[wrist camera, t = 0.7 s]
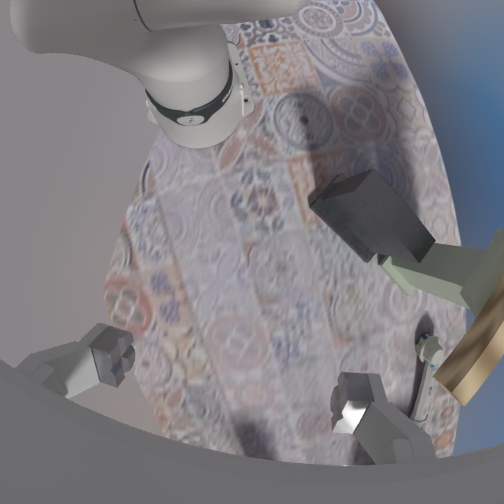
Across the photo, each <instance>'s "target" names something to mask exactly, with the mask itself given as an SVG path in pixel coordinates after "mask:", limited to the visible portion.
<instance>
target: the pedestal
mask: <svg viewBox="0 0 504 504" xmlns="http://www.w3.org/2000/svg"><path fill="white" fill-rule="evenodd" d="M378 265H379V266H380V267H381V268H382V269H383V270H384V271H385V272H386V273H387V275H388V276H389V277H390V278H391V279H392V280H393V281H394V282H395V283H396V284H397V286H398V287H399V288H400V289H401V290H402V291H403V292H404V293H405V294H406V295H408V296H410V295H411V294H412V292H413V291H414V290H415V288H418V289H421V290H423V291H426V292H428V293H431V294H433V295H436V296H438V297H441V298H443V299H446V300H449V301H451V302H454V303H456V304H459V305H461V306H464V307H466V308H469V309H470V310H471V311H472V313H473V314H474V316H475V318H477V316H478V315H479V313H480V312H481V310H482V309H483V307H484V306H485V304H486V302H487V301H488V299H489V298H490V296H491V294H492V292H493V291H494V289H495V287H496V286H497V284H498V282H499V280H500V279H501V277H502V275H503V273H504V229H497V231H496V233H495V235H494V236H493V238H492V240H491V242H490V244H489V246H488V248H487V249H486V250H482V249H475V248H468V247H461V246H453V245H446V244H438V243H434V244H433V245H432V247H431V248H430V250H429V251H428V253H427V254H426V255H425V257H424V258H423V260H422V261H421V262H420V263H416V262H412V261H407V260H403V259H399V258H395V257H391V256H387V255H386V256H385V257H384V258H383V259H382V261H381V262H380V263H379V264H378Z"/></svg>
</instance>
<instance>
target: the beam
mask: <svg viewBox="0 0 504 504" xmlns="http://www.w3.org/2000/svg"><path fill="white" fill-rule="evenodd" d="M503 354H504V273H503V275H502V277H501V279H500V280H499V282H498V284H497V286H496V287H495V289H494V291H493V292H492V294H491V296H490V298H489V299H488V301H487V302H486V304H485V306H484V307H483V309H482V310H481V312H480V313H479V315H478V316H477V318H476V320H475V321H474V323H473V324H472V325H471V327H470V328H469V330H468V331H467V333H466V334H465V335H464V337H463V338H462V339H461V341H460V342H459V344H458V345H457V346H456V348H455V349H454V350H453V351H452V353H451V354H450V355H449V357H448V358H447V359H446V360H445V362H444V363H443V364H442V365H441V367H440V368H439V369H438V370H437V371H436V373H435V374H434V375H433V376H432V377H433V378H434V379H435V380H436V381H437V382H438V383H439V384H440V385H441V386H442V387H443V388H444V389H445V390H446V391H447V392H448V393H449V394H450V395H452V396H453V397H454V398H455V399H456V400H457V401H459V402H460V403H461V404H462V405H463V406H465V405H466V404H467V403H468V401H469V400H470V399H471V397H473V395H474V394H475V393H476V392H477V390H478V389H479V388H480V386H481V385H482V384H483V383H484V381H485V380H486V378H487V377H488V376H489V374H490V373H491V372H492V370H493V369H494V367H495V366H496V365H497V363H498V362H499V360H500V359H501V357H502V356H503Z"/></svg>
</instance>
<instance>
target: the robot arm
mask: <svg viewBox="0 0 504 504" xmlns="http://www.w3.org/2000/svg"><path fill="white" fill-rule="evenodd" d="M309 1H310V0H11V4H10V24H11V28H12V31H13V33H14V35H15V37H16V39H17V40H18V42H19V43H20V44H21V45H22V46H23V47H25V48H26V49H27V50H29V51H31V52H33V53H38V54H42V53H66V54H73V55H79V56H84V57H88V58H92V59H95V60H98V61H101V62H104V63H107V64H109V65H112V66H114V67H117V68H119V69H122V70H124V71H126V72H128V73H130V74H132V75H133V76H135V77H136V78H137V79H138V80H139V81H140V83H141V84H142V85H143V86H144V87H145V90H146V93H147V96H148V99H147V100H146V104H147V107H148V113H147V118H148V120H149V121H150V122H151V123H153V124H155V125H157V126H159V127H160V128H161V129H162V130H163V131H164V132H165V134H166V135H167V136H168V137H169V138H170V139H171V140H172V141H173V142H175V143H177V144H179V145H181V146H184V147H187V148H197V149H198V148H206V147H210V146H213V145H216V144H218V143H220V142H222V141H223V140H225V139H226V138H227V137H228V136H229V135H230V134H231V133H232V132H233V131H234V130H235V128H236V127H237V125H238V124H239V122H240V121H241V120H242V119H243V118H245V117H246V116H248V115H249V114H251V113H252V112H253V111H254V109H255V106H254V101H253V98H252V95H251V92H250V88H249V85H248V82H247V78H246V75H245V72H244V69H243V66H242V63H241V59H240V56H239V53H238V50H237V47H236V46H235V45H234V44H232V43H229V42H227V37H226V34H225V32H224V30H223V29H222V27H221V26H220V25H219V24H237V23H244V22H250V21H258V20H266V19H273V18H280V17H289V16H293V15H294V14H296V13H297V12H298V11H300V10H301V9H302V8H303V7H304V6H306V4H307V3H308V2H309ZM245 99H247V100H248V102H244V100H245ZM132 342H133V335H132V333H130V332H128V331H125V330H122V329H119V328H116V327H113V326H109V325H106V324H103V323H98V324H96V325H95V326H94V327H93V328H92V329H91V330H90V331H89V332H88V333H87V334H86V335H85V336H84V337H83V338H82V339H81V340H80V341H79V342H76V341H75V342H71V343H68V344H64V345H61V346H57V347H54V348H50V349H47V350H43V351H40V352H36V353H32V354H30V355H29V356H28V357H26V358H25V359H24V360H23V361H22V362H21V363H20V364H19V365H18V366H17V367H16V368H15V369H14V368H13V367H11V366H10V365H8V364H7V363H5V362H4V361H2V360H1V359H0V504H504V444H499V445H496V446H493V447H489V448H485V449H482V450H477V451H474V452H469V453H464V454H460V455H455V456H449V457H444V458H438V459H437V457H436V454H435V450H434V447H433V444H432V441H431V438H430V436H429V435H428V434H427V433H426V432H425V431H423V430H422V429H421V428H420V427H419V426H418V425H416V424H415V423H414V422H413V421H412V420H411V419H409V418H408V417H407V416H406V415H405V414H404V413H403V412H401V411H400V410H399V409H398V408H397V407H396V406H394V405H393V404H392V403H388V401H387V398H386V394H385V391H384V387H383V384H382V381H381V377H380V375H379V374H374V373H366V374H365V373H352V372H341V373H340V374H339V377H338V385H337V386H336V387H334V390H333V392H332V396H331V403H330V407H331V411H332V412H333V413H334V414H333V416H332V418H331V422H332V432H339V433H354V434H353V435H354V436H355V437H356V439H357V440H358V441H359V443H360V444H361V445H362V447H363V448H364V449H365V451H366V452H367V453H368V455H369V456H370V457H371V459H372V460H373V461H374V462H375V465H319V464H303V463H291V462H282V461H273V460H265V459H258V458H252V457H246V456H240V455H234V454H229V453H224V452H219V451H215V450H210V449H206V448H202V447H198V446H194V445H190V444H186V443H182V442H179V441H175V440H172V439H168V438H165V437H161V436H158V435H155V434H152V433H149V432H146V431H143V430H140V429H137V428H135V427H132V426H129V425H127V424H124V423H121V422H119V421H116V420H114V419H111V418H109V417H106V416H104V415H102V414H99V413H97V412H95V411H92V410H90V409H88V408H86V407H83V406H81V405H79V404H77V403H75V402H73V401H71V400H69V399H68V398H70V397H72V396H74V395H77V394H78V393H80V392H82V391H84V390H86V389H88V388H90V387H92V386H94V385H96V384H98V383H99V382H103V383H105V384H108V385H111V386H114V387H117V388H118V386H119V385H120V384H121V382H122V381H123V379H124V378H125V376H124V373H125V372H128V371H130V369H131V368H132V367H133V364H134V361H135V349H134V348H133V347H132V345H131V343H132Z"/></svg>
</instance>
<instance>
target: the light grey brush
mask: <svg viewBox="0 0 504 504" xmlns="http://www.w3.org/2000/svg"><path fill="white" fill-rule="evenodd" d="M419 339H420V340H419V342H418V344H416V349H415V350H416V352H417V355H418V356H419V358H420V361H421V362H423V363H425V367H424V372H423V376H422V380H421V384H420V388H419V392H418V395H417V399H416V402H415V406H414V409H413V412H412V413H411V415H410V419H411V420H412V421H413V422H414V423H415V424H416V425H418V426H419V427H420V428H421V429H422V427H423V425H424V422H425V421H426V419H427V417H428V414H427V412H428V408H429V404H430V400H431V396H432V392H433V387H434V382H435V379H434V378H433V377H432V376H433V375H434V374H435V373H436V371H437V367H438V363H439V362H440V361H441V360H442V358H443V355H444V352H443V349H442V347H441V346H440V344H441V343H440V340H439V338H438V337H436V336H434V335H431V334H430V333H426V334H423V335H422V336H421V337H420V338H419Z"/></svg>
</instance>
